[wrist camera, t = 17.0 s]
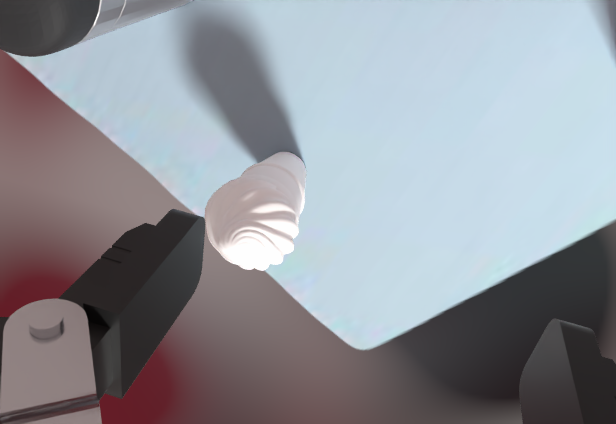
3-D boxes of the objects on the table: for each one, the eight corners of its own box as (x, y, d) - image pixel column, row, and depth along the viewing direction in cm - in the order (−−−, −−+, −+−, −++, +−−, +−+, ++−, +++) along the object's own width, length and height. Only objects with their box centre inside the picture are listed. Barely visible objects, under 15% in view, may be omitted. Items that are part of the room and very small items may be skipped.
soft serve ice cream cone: (340, 190, 55) (301, 284, 41) (273, 216, 58) (217, 310, 45) (300, 119, 52) (245, 194, 38) (233, 151, 55) (160, 230, 42)
